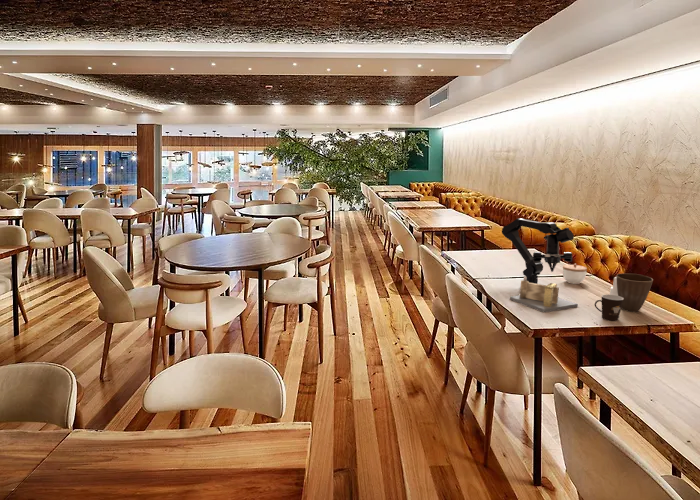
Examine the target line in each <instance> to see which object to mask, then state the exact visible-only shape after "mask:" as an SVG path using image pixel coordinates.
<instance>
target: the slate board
mask: <svg viewBox="0 0 700 500" xmlns="http://www.w3.org/2000/svg"><path fill="white" fill-rule="evenodd" d="M510 300H511V301H513V302H515V303H518V304H521V305H523V306H526V307H529V308H531V309H533V310H537V311H539V312H541V313H550V312H555V311H560V310H567V309H573V308H577V307H578V306H579V304H578V303H576V302H573V301H570V300H568V299H564V298H562V297H559V296H558V302H557V304H554V303H552V306H551V307H547V306H543V305H544V302H543V301H538V300H533V299H528V298H521V297H520V294H518V295H513V296H511V295H510V296H509V301H510Z"/></svg>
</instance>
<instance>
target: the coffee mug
mask: <svg viewBox="0 0 700 500" xmlns="http://www.w3.org/2000/svg"><path fill="white" fill-rule="evenodd" d="M623 299H624V298H622V297H620V296H616V295H610V294H601V299H599V300H598V299H597V300H596V301H595V302H594V307H595V309H596V310H597V311H599V312H601V318H602V320H605V321H608V320H609V321H610V322H617V320H619V317H620V313H621V310H622V309H621V307H622V303H623ZM598 302H601V309H599V308H598V306H597V303H598Z"/></svg>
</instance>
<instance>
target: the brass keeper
mask: <svg viewBox="0 0 700 500" xmlns="http://www.w3.org/2000/svg"><path fill="white" fill-rule="evenodd" d="M555 287H558V284H557V283H553V282H551V283H549V284H547V286H545V295H544V305H543V306H547V307H551V306H552V300H553V290H554V288H555Z"/></svg>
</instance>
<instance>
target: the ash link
mask: <svg viewBox="0 0 700 500" xmlns="http://www.w3.org/2000/svg"><path fill="white" fill-rule="evenodd" d="M523 280H524V279H523ZM523 280H520V290H519V295H520V297H521V298H528V299H533V300H538V301H543V302H544V295H545V286H547V285H548V284H547V285H546V284H541V283H538V284H535V283H529V281H523ZM559 291H560V290H559V287H558V286H556V287H555V288H554V290H553V300H552V303H554V304H557V302H558V297H559Z"/></svg>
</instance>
